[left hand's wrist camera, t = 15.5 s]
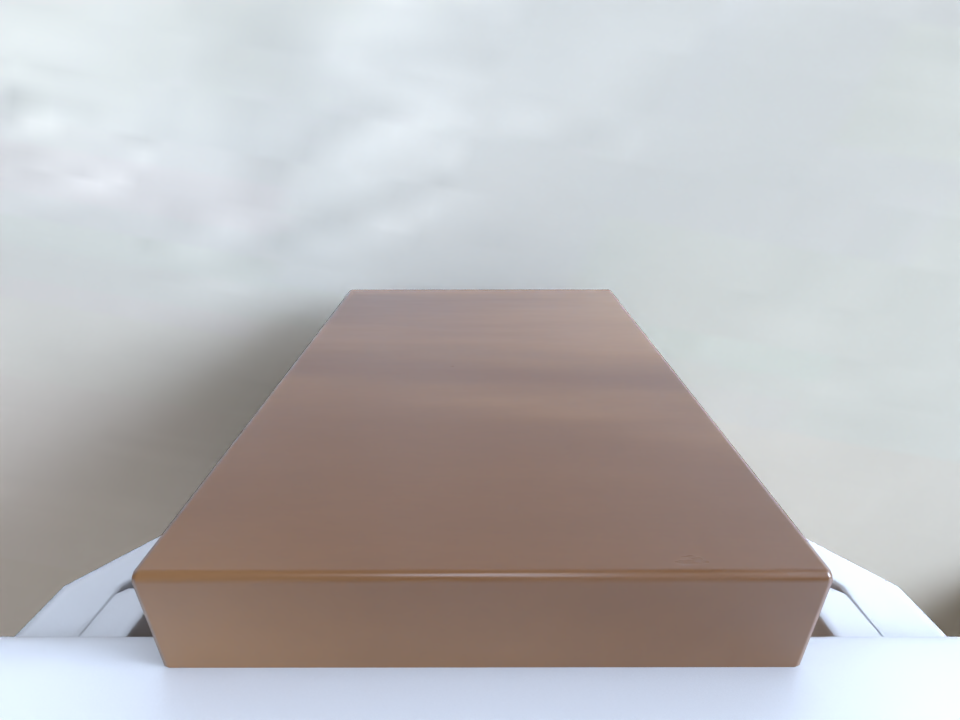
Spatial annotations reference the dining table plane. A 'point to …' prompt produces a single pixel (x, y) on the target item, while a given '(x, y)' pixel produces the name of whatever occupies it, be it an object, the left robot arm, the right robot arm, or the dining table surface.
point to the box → (481, 506)
